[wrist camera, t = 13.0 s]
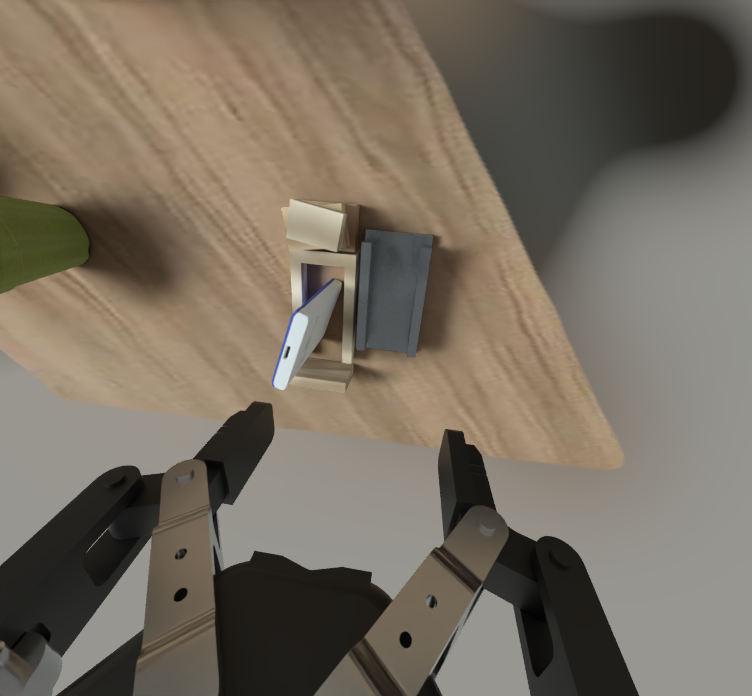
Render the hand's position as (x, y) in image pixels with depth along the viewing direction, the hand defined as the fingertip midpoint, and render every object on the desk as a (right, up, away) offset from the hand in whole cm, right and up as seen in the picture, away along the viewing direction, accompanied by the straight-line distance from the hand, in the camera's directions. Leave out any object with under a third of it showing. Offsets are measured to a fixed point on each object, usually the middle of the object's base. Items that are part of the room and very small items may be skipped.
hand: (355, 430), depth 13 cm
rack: (-5, +8, +23) cm, 25 cm away
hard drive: (-5, +9, +23) cm, 26 cm away
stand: (+3, +10, +21) cm, 24 cm away
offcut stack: (-4, +17, +19) cm, 26 cm away
